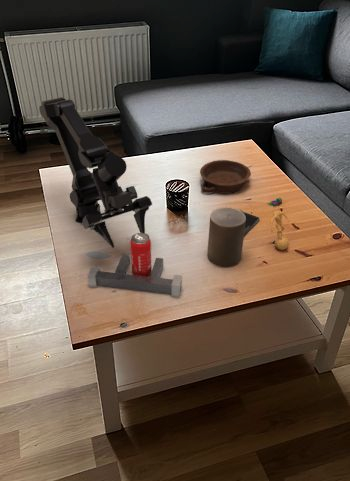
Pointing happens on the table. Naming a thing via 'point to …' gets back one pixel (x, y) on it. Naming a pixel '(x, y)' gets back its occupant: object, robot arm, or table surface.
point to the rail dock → (135, 279)
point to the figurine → (279, 231)
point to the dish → (224, 176)
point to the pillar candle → (226, 236)
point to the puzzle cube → (275, 202)
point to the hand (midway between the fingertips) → (128, 241)
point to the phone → (250, 222)
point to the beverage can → (141, 254)
